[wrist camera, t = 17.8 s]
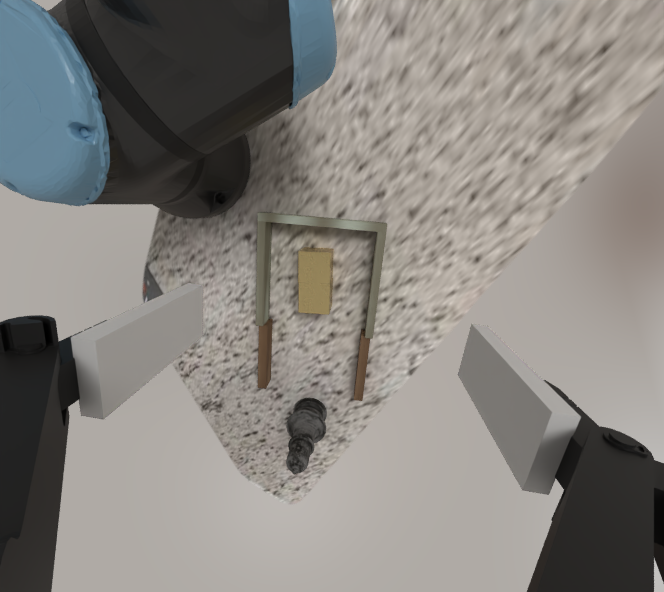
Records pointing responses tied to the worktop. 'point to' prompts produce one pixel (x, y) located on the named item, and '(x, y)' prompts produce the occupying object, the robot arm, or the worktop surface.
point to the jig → (264, 287)
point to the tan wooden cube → (315, 298)
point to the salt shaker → (304, 432)
